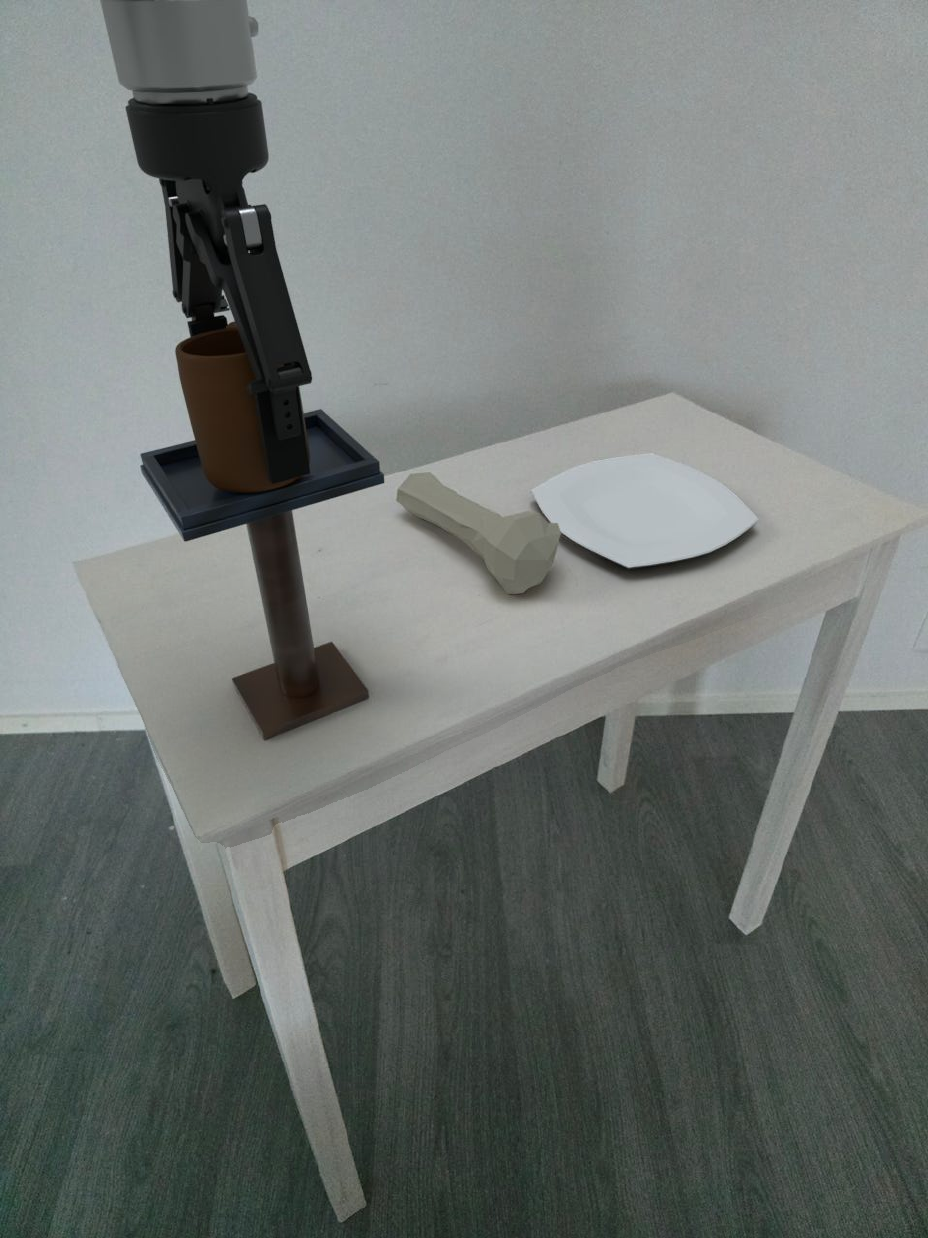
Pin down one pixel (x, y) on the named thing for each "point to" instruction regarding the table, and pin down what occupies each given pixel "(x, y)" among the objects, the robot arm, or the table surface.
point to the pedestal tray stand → (275, 566)
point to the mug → (224, 410)
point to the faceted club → (487, 531)
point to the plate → (643, 510)
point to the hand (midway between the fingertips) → (254, 437)
